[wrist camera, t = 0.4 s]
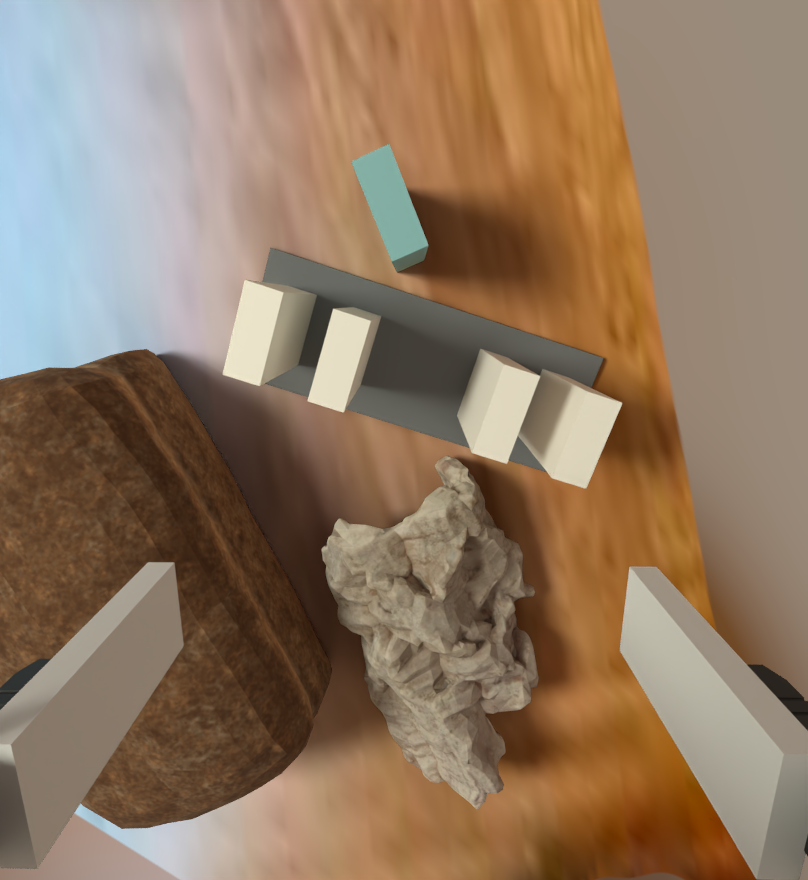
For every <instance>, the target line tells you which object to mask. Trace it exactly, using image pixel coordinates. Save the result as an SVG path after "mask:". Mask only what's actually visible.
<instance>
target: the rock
mask: <svg viewBox="0 0 808 880" xmlns="http://www.w3.org/2000/svg"><path fill="white" fill-rule="evenodd" d="M435 468H436V470H437V471H438V473H439V475H440V476H441V478H442V480H443V483H444V486H441V487H439V488H437V489H436V490H435V491H434V492H432V493H431V494H430V495H429V496H427V497H426V498H425V500H424V502H423V504H422V505H421V506H420V508H419V509H418V511H417V512H416V513H414V514H412V515H410V516H407V517H405V518H404V520H403V522H400V523H399V524H397V525H395V526H394V527H389V528H385V529H380V528H377V527H373V526H369V525H360V524H349V523H348V522H347V521H346V520H344V519H340V518H339V519H338V520H337V522H336V523H335V525H334V529H333V532H332V535H331V536H330V537H329V538H328V541H327V545H325V546H324V547H323V548H322V557H323V561H324V563H325V564H326V571H325V573H326V578H327V582H328V586H329V588H330V590H331V592H332V594H333V596H334V599H335V601H336V602H337V604H338V612H337V615H338V619H339V622H340V624H341V625H343V626H345V627H347V628H348V629H349V630H350V631H351V632H354V633H356V634H359V635H361V642H362V648H363V653H364V660H365V663H366V672H365V676H364V680H365V681H366V683H367V686H368V690H369V694H370V698H371V700H372V702H373V703H374V704H375V706H376V707H377V708H378V709H379V710H380V711H381V712H382V713H383V715H384V717H385V719H386V721H387V725H388V729H389V732H390V734H391V735H392V737H393V738H394V740H395V741H396V742H397V744H398V745H399V746H400V747H401V749H402V751H403V754H404V757H405V758H406V760H407V761H408V762H409V763H412V764H413V765H415V766H416V767H418V768H419V769H422V772H423V775H424V776H425V777H426V778H427V779H428V780H429V781H430V782H436V783H440V782H443V781H446V782H447V783H448V784H449V785H450V786H451V787H452V789H453V790H455V791H456V792H457V793H458V794H460V795H461V796H462V797H463V798H465V799H466V800H467V801H469V802H470V803H471V804H472V805H473V806H474V807H475V808H476V809H477V810H478V809H479V807H480V806H481V805H482V804H483V803H484V802H485V800H486V796H487V793H498V792H500V791H501V790H503V786H504V784H503V782H502V780H501V777H500V775H499V771H498V762H499V760H500V758H501V757H502V756H503V755H504V754H505V753H506V751H505V743H504V740H503V738H502V736H501V735H500V734H499V733H498V732H497V731H496V732H495V730H494V728H493V726H492V724H491V723H490V721H489V719H488V718H487V717H486V715H485V713H491V714H494V713H496V712H503V711H515V710H520V709H522V708H523V707H525V706H526V705H527V704H529V703H530V702H531V688H534V687H537V684H538V679H539V676H538V672H537V666H536V660H535V654H534V648H533V645H532V642H531V639H530V637H529V635H528V634H527V633H526V632H525V631H523V630H520V629H519V628H518V627H517V624H516V616H515V610H516V609H515V605H514V602H515V601H516V600H517V599H518V598H528V597H533V595H534V594H535V591H534V588H533V586H532V585H530V584H527V583H524V581H523V577H522V565H523V554H522V551H521V549H520V547H519V544H518V543H516V542H514V541H513V540H511V539H509V538H507V537H505V535H504V532H503V530H501V529H498V528H497V526H496V525H495V523H494V521H493V519H492V517H491V515H490V514H489V513H488V511H487V510H486V509H485V499H484V497H483V495H482V492H481V490H480V487H479V485H478V484H477V483H476V481H475V479H474V477H473V476H472V475H471V474H470V473H469V470H468V469H467V468H466V467H465V466H464V465H463V464H461V463H460V462H459V461H458V460H457V459H456V458H452V457H449V456H445V457H443V458H441V459H440V460H438V462H437V463H436V465H435Z"/></svg>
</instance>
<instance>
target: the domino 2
mask: <svg viewBox="0 0 808 880" xmlns="http://www.w3.org/2000/svg"><path fill="white" fill-rule="evenodd" d="M380 319H381V316H379V315H376V314H373V313H370V312H367V311H364V310H361V309H358V308H355V307H348V308H335V309H333V311H332V315H331V318H330V322H329V326H328V329H327V333H326V336H325V340H324V344H323V347H322V351H321V354H320V358H319V361H318V365H317V369H316V372H315V376H314V379H313V383H312V387H311V390H310V394H309V397H308V402H311V403H315V404H318V405H321V406H324V407H327V408H331V409H334V410H337V411H340V412H343V413H344V411H345V410H346V408H347V406H348V405H349V403H350V402H351V400H352V398H353V397H354V395H355V393H356V392H357V390H358V388H359V387H360V385H361V382H362V379H363V376H364V372H365V369H366V366H367V362H368V359H369V356H370V352H371V349H372V346H373V342H374V339H375V336H376V333H377V329H378V326H379V323H380Z"/></svg>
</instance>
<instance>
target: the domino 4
mask: <svg viewBox="0 0 808 880" xmlns="http://www.w3.org/2000/svg"><path fill="white" fill-rule="evenodd" d="M621 406H622V403H621V402H619V401H617V400H615V399H613V398H611V397H609V396H607V395H605V394H603V393H600V392H598V391H596V390H594V389H592V388H590V387H588V386H586V385H584V384H582V383H579V382H577V381H575V380H573V379H571V378H569V377H566V376H563V375H560V374H557V373H554V372H551V371H548V370H544V369H542V371H541V374H540V379H539V381H538V384H537V386H536V389H535V392H534V394H533V397H532V399H531V402H530V405H529V407H528V410H527V413H526V415H525V418H524V420H523V423H522V426H521V428H520V431H519V433H518V436H519V438H520V439H521V440H522V441H523V443H524V444H525V445H526V446H527V448H528V449H529V450H530V451H531V453H532V454H533V455H534V456H535V458H536V459H537V460H538V461H539V463H540V464H541V465H542V466H543V468H544V469H545V470H546V471H547V473H548V474H549V475H550V476H551V478H553V479H557V480H560V481H563V482H566V483H569V484H573V485H576V486H579V487H582V488H585V489H586V488H587V485H588V483H589V481H590V478H591V476H592V473H593V471H594V469H595V466H596V464H597V462H598V459H599V457H600V455H601V452H602V450H603V448H604V445H605V443H606V441H607V438H608V436H609V434H610V431H611V429H612V427H613V424H614V422H615V420H616V417H617V415H618V413H619V410H620V408H621Z"/></svg>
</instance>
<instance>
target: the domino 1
mask: <svg viewBox="0 0 808 880" xmlns="http://www.w3.org/2000/svg"><path fill="white" fill-rule="evenodd" d="M316 297H317V295H315V294H312V293H309V292H306V291H303V290H300V289H297V288H294V287H291V286H287V285H279V284H272V283H265V282H257V281H250V280H245V282H244V286H243V290H242V295H241V299H240V303H239V307H238V312H237V316H236V320H235V324H234V329H233V333H232V337H231V341H230V345H229V350H228V354H227V358H226V362H225V367H224V371H223V375H226V376H229V377H232V378H235V379H238V380H241V381H245V382H248V383H251V384H254V385H257V386H261V385H263V384H265V383H266V382H268V381H270V380H272V379H274V378H275V377H277V376H279V375H281V374H283V373H284V372H286V371H288V370H290V369H292V368H294V367H295V366H297V365H298V364H299V360H300V356H301V352H302V349H303V345H304V341H305V338H306V334H307V330H308V326H309V323H310V319H311V315H312V312H313V308H314V304H315V301H316Z"/></svg>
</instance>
